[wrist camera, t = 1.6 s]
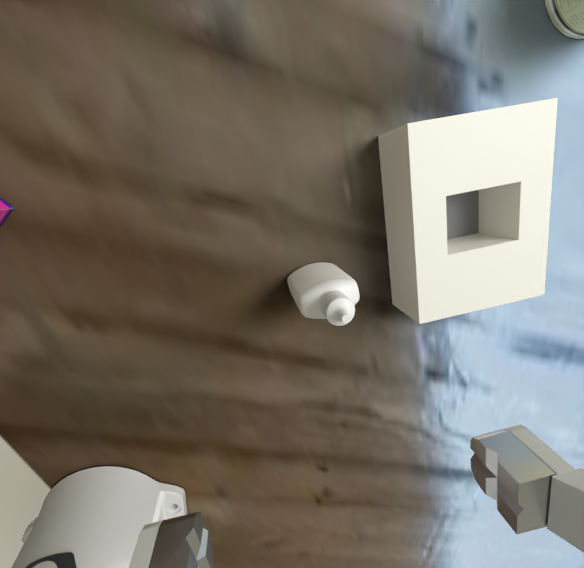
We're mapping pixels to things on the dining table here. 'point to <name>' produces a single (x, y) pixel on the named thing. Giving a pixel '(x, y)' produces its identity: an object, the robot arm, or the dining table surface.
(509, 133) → the holder block
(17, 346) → the dining table surface
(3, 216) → the supplement box
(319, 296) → the white plastic bottle
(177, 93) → the dining table surface
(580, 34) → the coffee can
